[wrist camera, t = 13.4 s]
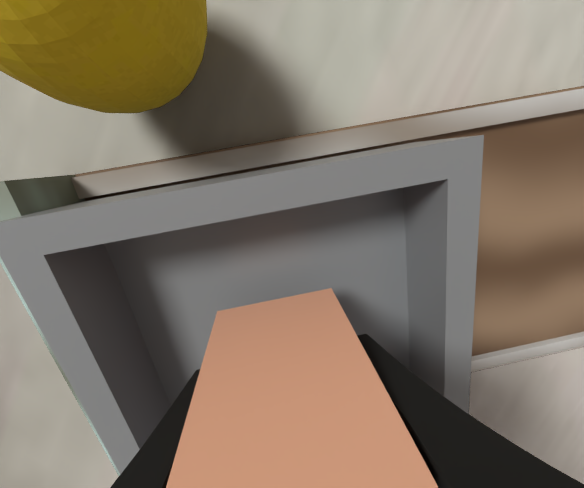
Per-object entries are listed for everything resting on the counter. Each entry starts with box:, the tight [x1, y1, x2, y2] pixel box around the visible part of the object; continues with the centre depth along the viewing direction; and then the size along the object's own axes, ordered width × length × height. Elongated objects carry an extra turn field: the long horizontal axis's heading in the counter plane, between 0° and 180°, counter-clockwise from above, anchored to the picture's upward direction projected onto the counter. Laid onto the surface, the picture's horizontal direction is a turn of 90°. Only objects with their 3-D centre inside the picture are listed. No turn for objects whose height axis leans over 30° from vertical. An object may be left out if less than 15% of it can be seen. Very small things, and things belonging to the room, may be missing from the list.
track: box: [0, 86, 584, 476], centre depth 12 cm, size 14×27×4 cm, turn 100°
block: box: [166, 288, 438, 488], centre depth 7 cm, size 4×4×6 cm
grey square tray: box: [0, 135, 484, 475], centre depth 11 cm, size 12×13×4 cm
